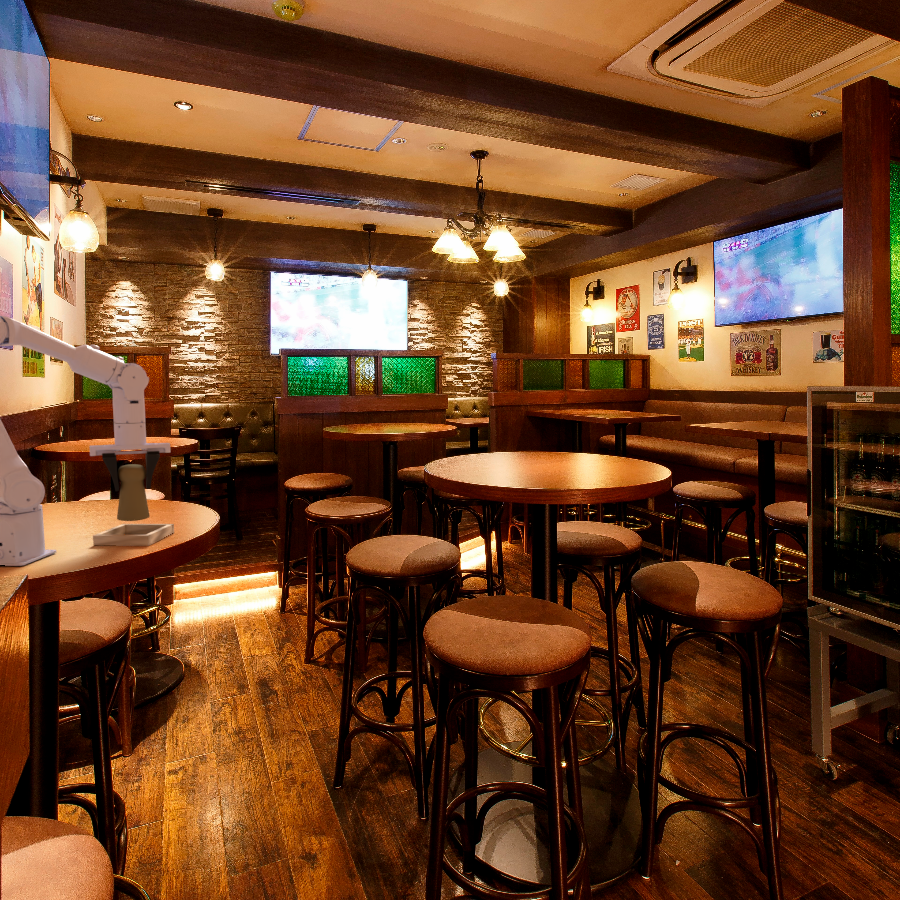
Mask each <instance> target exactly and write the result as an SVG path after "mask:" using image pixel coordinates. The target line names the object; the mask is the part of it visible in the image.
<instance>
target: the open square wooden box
mask: <svg viewBox="0 0 900 900" xmlns="http://www.w3.org/2000/svg"><path fill="white" fill-rule="evenodd" d="M172 533H173V534H175V524H174V523H122V524H119V525H116V526H113V527H111V528H109V529H106V530H104V531H101V532H99V533H96V534H93V535H92V543H93V545H116V546H115V547H117V546H118V547H120V546H122V547H125V546H127V547H129V546H133V547H135V546H136V547H137V546H138V547H141V546H142V547H148V546H151V545H154V544H155V543H157V542H159V541H161V540H163V539H165V538H167V537H169V536H171V535H173V534H172ZM124 534H125V535H124ZM170 534H171V535H170ZM168 535H169V536H168ZM166 536H167V537H166ZM164 537H165V538H164Z"/></svg>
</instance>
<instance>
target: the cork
mask: <svg viewBox="0 0 900 900" xmlns="http://www.w3.org/2000/svg"><path fill="white" fill-rule="evenodd" d="M117 476H118V480H119V481H120V486H119V495H118V496H119V497H118V507H117V516H116V518H117V520H118V521H122V522H124V521H125V522H134V521H135V522H138V521H143V520H145V519H146V520H147V519H148V518H150V510H149V504H148V499H147V493H146V486H145V482H144V480H146V467H145V466H144V465H143V464H142V465H141V464H136V463H134V464H133V463H132V464H131V463H130V464H129V463H128V464H125V465H120V466H119V468H118V469H117Z"/></svg>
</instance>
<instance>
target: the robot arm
mask: <svg viewBox="0 0 900 900" xmlns="http://www.w3.org/2000/svg"><path fill="white" fill-rule="evenodd" d="M6 346H7V347H11V346H20V347H24V348H27V349H29V350H31V351H35V352H37V353H41V354H43V355H46V356H48V357H51V358H54V359H57V360H60V361H63V362H65V363H67V365H68V367H69V368H70V370H71V371H72V372H73V373H75V374H78V375H80V376H83V377H85V378H89V379H90V380H93V381H95V382H96V381H97V382H98V383H101V384H104V385H106V386H108V387H109V388H110V389H111V390H112V409H113V410H112V411H113V412H112V413H113V432H114V435H113V436H114V437H113V438H114V444H100V445H99V444H98V445H97V444H96V445H89V456H90V457H96V456H101V459H102V460H103V463H104V464H105V466H106V468H107V470H108V472H109V474H110V476H111V479H112V482H113V486H114V491H115V492H120V484H119V477H118V465H117V464H118V463H117V455H134V454H135V455H136V454H137V455H138V454H139V455H140V454H145V469H146V477H145V489H146V490H148V489H149V490H150V489H151V486H152V480H153V475H154V472H155V469H156V466H157V464H158V462H159V460H160V458H161V457H160V456H161V455H160V454H161V453H163V454H165V453H166V454H167V453H168V454H169V453H171V443H170V442H147V430H146V429H147V428H146V427H147V426H146V407H145V406H146V405H145V389H146V388H147V386H148V384H149V382H150V377H149V376H147V375H148V374H147V372H146V370H145V369H144V367H142V366H141V365H140V364H137V363H134V362H130V363H129V362H128V363H125V361H124V359H125V358H124V357H122V356H120V355H119V356H118V355H117V356H113V355H112V354H109V353H106V352H105V351H102V350H100V346H98V345H95V344H90V345H88V344H82V345H79V346H76V347H75V346H73V345H72V344H68V343H67V342H65V341H62V340H60V339H58V338H56V337H54V336H52V335H50V334H47V333H45V332H43V331H41V330H39V329H36V328H34V327H31V326H30V325H27V324H25V323H23V322H21V321H18V320H17V319H14V318H11V317H9V316H4V315H0V347H6ZM124 450H125V451H124ZM132 450H133V451H132ZM45 489H46V488H45V486H44V484H43V482H42V481H41V480H40V479H38V478H37V477H36V476H34V475H33V474H32V473H31V471H30V469H29V467H28V466H27V464H26V463H25V462H24V461H23V460H22V458H21V457H20V455H19V454H18V452H17V450H16V448H15V445H14V444H13V442H12V440H11V438H10V435H9V434H8V432H7V430H6V428H5V426H4V423H3V422H2V420H1V418H0V565H5V567H6V566H7V567H11V566H14V567H21V566H25V565H28V564H31V563H33V562H35V561H37V560H38V561H39V560H40V559H43V558H45V557H48V556H51V555H53V554H55V553H57V549H46V543H45V542H46V541H45V527H44V526H45V525H44V524H45V523H44V511H43V509H44V508H43V504H41V503H43V500H44V498H45V495H46V490H45Z"/></svg>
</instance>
